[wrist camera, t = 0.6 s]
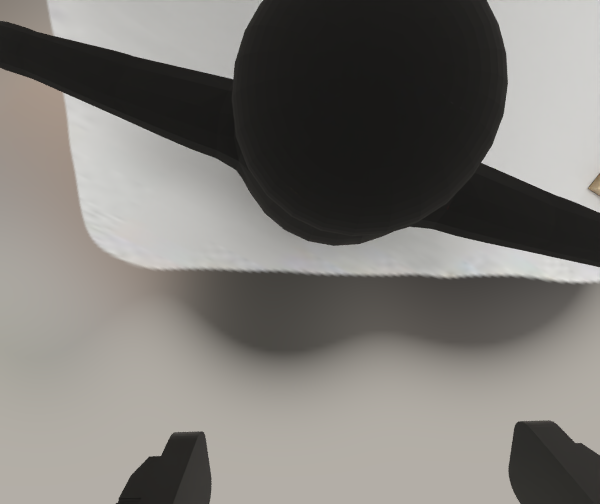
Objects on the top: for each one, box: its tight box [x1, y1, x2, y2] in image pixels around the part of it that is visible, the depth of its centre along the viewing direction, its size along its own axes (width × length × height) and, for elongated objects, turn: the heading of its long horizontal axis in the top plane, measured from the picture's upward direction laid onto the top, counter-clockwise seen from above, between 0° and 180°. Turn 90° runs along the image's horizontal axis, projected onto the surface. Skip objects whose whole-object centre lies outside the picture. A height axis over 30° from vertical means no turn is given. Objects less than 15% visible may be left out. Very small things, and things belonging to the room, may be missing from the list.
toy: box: [0, 0, 600, 267], centre depth 20 cm, size 37×12×30 cm, turn 72°
